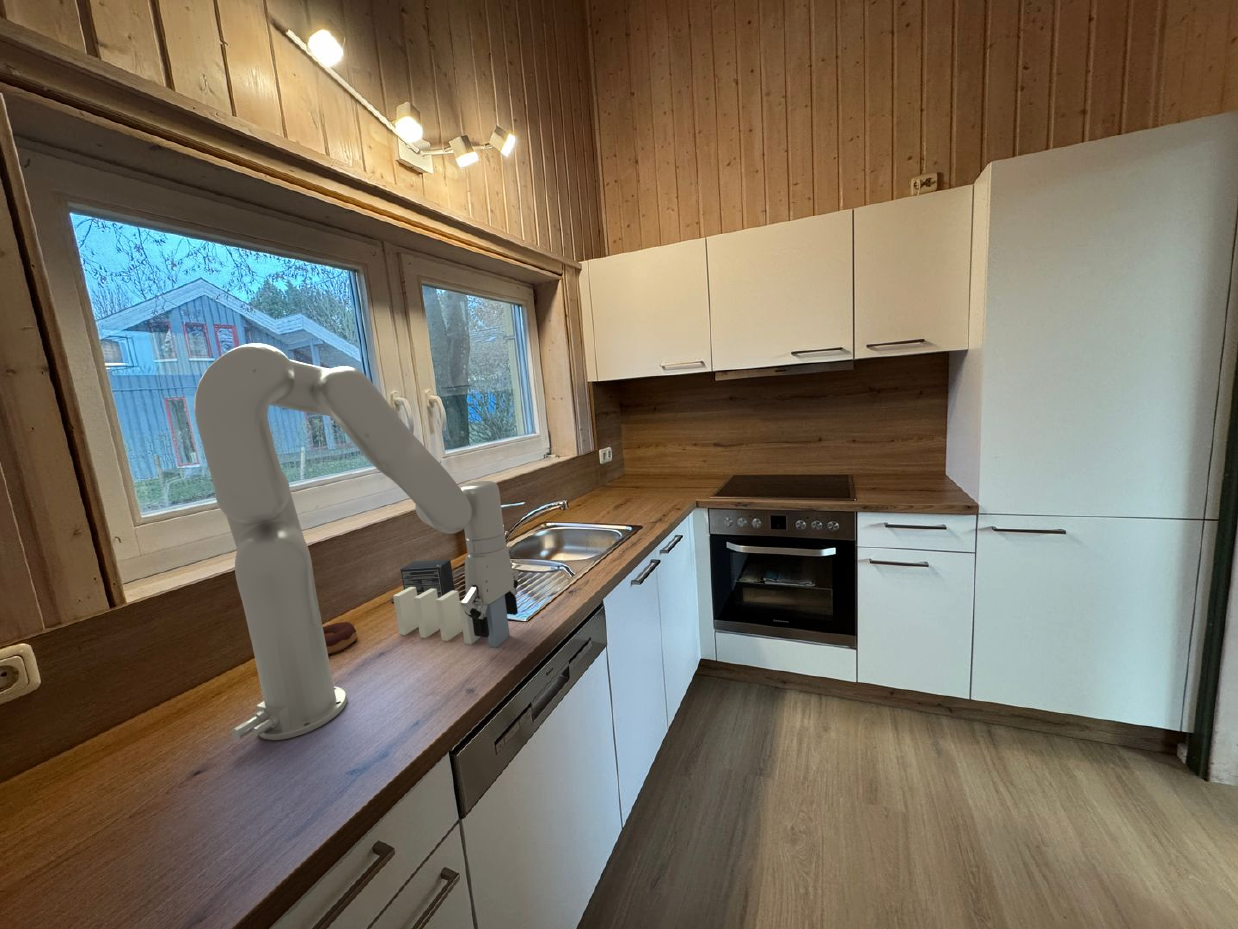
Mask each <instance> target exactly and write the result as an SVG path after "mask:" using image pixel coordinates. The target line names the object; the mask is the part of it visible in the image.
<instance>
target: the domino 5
mask: <svg viewBox="0 0 1238 929" xmlns="http://www.w3.org/2000/svg"><path fill="white" fill-rule="evenodd" d="M484 617H487V620H488V627H489V636H488V637H487V641H488V647H489V648H494V647H495V649H496V648H497V647H498V646H500V645H501V644H502V643H503V642H504V641H505V640H506V639H508V638H509V637H510V636H511V634H510V626H509V619H508V614H507V610H506V603H505V596H504V595H503V596H502V597H500V598H499V599H497V600H496V601H494V602H493V603H491V604H489V605H488V606H487V609H486V613H485V616H484ZM509 635H510V636H509ZM508 636H509V637H508ZM504 639H505V640H504ZM503 640H504V641H503ZM501 642H502V643H501ZM500 643H501V644H500ZM499 644H500V645H499Z"/></svg>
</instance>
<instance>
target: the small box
mask: <svg viewBox="0 0 1238 929" xmlns="http://www.w3.org/2000/svg"><path fill="white" fill-rule="evenodd" d="M451 562H452V561H451V558H448V559H434V560H433V559H431V560H429V559H428V560H417V561H411V562H410V563H408V564H407V565H405V566H403V567H401V568H400V573H401V574H400V575H401V580H402V586H403V590H405V589H407V588H409V587H416V591H417V596H418V595H420V594H422V593H424V592H425V591H427V590H429V589H431V588H432V589H437V595H438V598H440V597H442V596H443V595H445V594H447V593H449V592H450V591H452V590H454V591H456V588H455V583H454V575H453V574H454V573H453V568H452V563H451Z"/></svg>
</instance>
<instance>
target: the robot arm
mask: <svg viewBox="0 0 1238 929" xmlns="http://www.w3.org/2000/svg"><path fill="white" fill-rule="evenodd" d="M270 406H273V407H278V408H283V409H289V410H291V411H297V412H303V413H309V414H315V415H320V416H327V417H331V418H332V419H333V421H334V422H335V423H336V424H337V426H339V427H340V429H341V430H342V431H343V432H344V433H345V434H346V436H348V438H349V439H350V441H352V442H353V444H354V445H355V446H356V447H357V449H358V450H359V451H360V453H362V455H363V456H364V457H365V458H366V460H368V461H369V463H371V465H372V466H373V467H374V468H375V469H377V470H378V471H379V472H380V473H382V474H383V475H384V476H386V477H388V478H389V479H390V480H391V481H392V482H394V484H396V485H397V486H398V487H399V488H400V489H401V490H402V491H403V492H404V493H405V494H406V495H407V496H408V497H409V499H410V500H412V501H413V503H414V504H415V512H416V515H417V516H418V518H419V519H420V520H421V521H422V522H423V523H424V524H426V525H428V526H430V527H431V528H433V529H435V530H436V531H438V532H440V533H443V534H455V533H457V534H458V532H461V531H463V530H464V535H465V537H464V538H465V543H466V552H467V555H466V556H465V558H464V582H465V585H464V586H465V597H464V598H463V599H464V600H463V599H462V600H463V601H462V603H461V606H462V608H463V609H464V611H465V614H467V615H468V616H469V617H470V618H472V621H473V628H474V635H475V636H479V637H480V638H488V636H489V627H488V620H487V617H485V613H486V609H487V606H488V605H489V604H491V603H493V602H494V601H496V600H497V599H499V598H500V597H502V596H503V595H504V596H505V603H506V610H507V615H513V616H517V615H518V614H519V611H518V604H517V602H518V601H517V594H518V590H517V588H518V585H519V575H520V571H519V570H518V569H513V565H512V561H511V556H510V552H509V549H508V546H507V542H506V541H507V540H506V536H505V535H506V534H505V527H504V518H503V511H502V510H503V509H502V503H501V496H500V488H499V486H498V484H497V482H495V481H491V480H481V481H480V480H479V481H473V482H469V483H465V484H464V485H463V484H462V485H459V484H458V483H457V482H456V481H455V479H454V478H453V477H452V476H451V475H450V473H449V472H448V471H447V469H446V468H445V467H444V466H443V465H442V464H441V463H440V462H439V461H438V459H436V458H435V456H433V455H432V453H431V452H430V451H429V450H428V449H427V447H426V446H425V445H424V444H423V443H422V442H421V441H420V440H419V438H417V436H415V435H414V433H413V432H412V431H411V429H409V427H408V425H406V423H405V422H404V421H403V419H402V418H401V417H400V416H398V414H397V412H395V410H394V409H393V407H392V406H391V405H390V403H389V402H388V401H387V400H386V398H385V397H384V395H382V393H381V392H380V391H379V389H378V388H377V387H376V386H375V385H374V383H373V382H372V380H371V379H369V378H368V376H367V375H366V374H365V373H364V372H362V371H361V370H359V369H357V368H356V367H352V366H349V365H346V366H345V365H343V366H337V367H336V366H335V367H333V368H327V367H323V366H319V365H313V364H309V363H305V362H300V361H297V360H293V359H289V357H288V356H287V355H286V354H285V353H284V352H283V351H282V350H280V349H278V348H277V347H274V346H272V345H269V344H265V343H257V342H256V343H255V342H254V343H253V342H252V343H247V344H243V345H240V346H237V347H234V348H232V349H230V350H229V351H227V352H226V353H224V354H223V355H221V356H219V357H218V358H217V359H216V360H215V361H213V362H212V363H211V364H210V365H209V366H208V367H207V368H206V370H205V372H204V373H203V374H202V376H201V378H200V379H199V382H198V384H197V386H196V390H195V395H194V406H193V407H194V417H195V422H196V423H195V424H196V427H197V431H198V434H199V438H200V441H201V445H202V450H203V453H204V457H205V460H206V464H207V467H208V471H209V473H210V477H211V480H212V484H213V488H214V495H215V499H216V503H217V505H218V507H219V508H220V511H221V512H223V514H224V515H225V516H226V519H227V522H228V524H229V529H230V532H231V534H232V538H233V540H234V544H235V547H236V554H235V559H234V560H235V561H234V571H235V572H234V573H235V574H234V575H235V579H236V583H237V588H238V591H239V594H240V598H241V601H242V606H243V611H244V615H245V619H246V624H247V627H248V632H249V638H250V641H251V645H252V650H253V655H254V659H255V660H254V661H255V665H256V669H257V674H258V675H257V676H258V679H259V684H260V689H261V693H262V697H263V698H262V699H263V701H262V702H260V703H258V704H257V705H256V707H257V712H255V713H254V714H253V716H252V717H251V718H250V719H247V720H246V721H244V722H242V723H241V724H239V725H237V726H235V727H234V728H232V729H231V735H232V738H233V739H234V740H235V741H238V742H239V741H240V740H242V739H243V738H245V737H247V736H248V735H250V734H251V733H252V735H253V736H254V737H260V738H262V739H265V740H269V741H280V740H287V739H292V738H296V737H299V736H301V735H305V734H307V733H311V732H312V731H314V730H316V729H318V728H320V727H322V726H324V725H326V724H327V723H329V722H330V721H331V720H332V719H334V718H336V717H337V716H338V715H339V714H340V713H341V712H342V711H343V710H344V708H345V706H346V705H347V702H348V697H347V693H346V690H345V689H343V688H341V687H338V686H334V685H335V684H334V681H333V674H332V669H331V665H330V659H329V654H328V653H327V648H326V642H325V637H324V632H323V627H324V626H323V623H322V617H321V611H320V607H319V600H318V596H317V589H316V584H315V577H314V568H313V562H312V557H311V553H310V550H309V547H308V543H307V542H306V539H305V536H304V534H303V531H302V528H301V524H300V520H299V518H298V513H297V511H296V506H295V503H294V499H293V495H292V492H291V489H290V483H289V480H288V478H287V476H286V474H285V473H284V472H283V470H282V467H281V464H280V461H279V457H278V454H277V450H276V448H275V444H274V440H273V439H274V438H273V434H272V431H271V428H270V424H269V420H268V418H269V416H268V413H269V409H270ZM480 599H481V600H482V601H479V600H480ZM478 605H479V606H481V609H480V612H479V611H478V610H477V608H478Z"/></svg>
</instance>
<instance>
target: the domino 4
mask: <svg viewBox="0 0 1238 929" xmlns="http://www.w3.org/2000/svg"><path fill="white" fill-rule="evenodd" d="M463 600H464V598H463V599H461V600H460V602H459V607H460V614H461V621H462V628H463V631H462V633H463V640H464V644H466V645H472V644H474V643H475V642H477V641H478V640H479V639H480V638H481V637H479V636H475V635H474V628H473V621H472V618H470V617H469V616H468V615H467V614H465V611H464V609H463V608H462V606H461V603H462V601H463ZM479 601H483V600H481V599H480V600H479ZM480 609H481V606H479V605H478V608H477V610H478V611H479V612H480Z"/></svg>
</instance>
